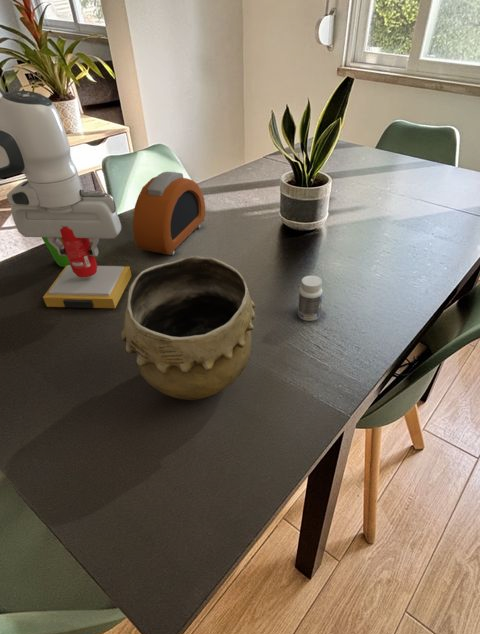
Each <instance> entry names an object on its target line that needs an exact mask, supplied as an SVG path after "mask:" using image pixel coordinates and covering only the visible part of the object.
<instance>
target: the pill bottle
mask: <svg viewBox="0 0 480 634" xmlns="http://www.w3.org/2000/svg"><path fill="white" fill-rule="evenodd" d="M322 286H323V281H322V279H321V277H319V276H316V275H306V276H304V277H303V278H301V284H300V287H299V290H298V306H297V315H298V317H299V318H300V319H301V320H303V321H306V322H312V321H316V320H318V319H319V318H320V317H321V313H322V302H323V292H324V291H323V287H322Z"/></svg>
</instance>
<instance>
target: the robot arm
mask: <svg viewBox="0 0 480 634" xmlns="http://www.w3.org/2000/svg"><path fill="white" fill-rule="evenodd" d="M18 174H23V175H24V176H25V177H26V180H24V181H21V182H20V183H19V184H17V185H16V186H14V187H13V188H12V189H11V190H10V191H9V192H8V193H7V194H6V199H7V201H8V203H9V204H10V205H11V207H10V213H11V216H12V219H13V222H14V225H15V227H16V229H17V231H18V233H19V234H20V235H21V236H23V237H25V238H42V237H47V239H48V242H49V243H50V244H51V245H53V246H54V247H55V248H56V249H57V251H58V254H59V255H60V256H67V254H66V251H65V248H64V246H63V244H62V243H61V242H60V241H59V240H58V238H62V235H61V232H60V229H62V228H63V227H61V226H68V228H69V229H71V230H73V234H74V236H75V237H76V238H89V241H90V243H92V245H90V247H89V248H88V249H87V250H88V253H89V256H94V257H98V255H99V248H98V246H99V242H100V239H107V240H108V239H111V240H112V239H113V240H114V239H116V238H118V236H119V234H121V231H122V224H121V220H120V217H119V215H118V212H117V211H116V208H117V207H116V203H115V202H116V201H115V199H114V197H113V196H112V195H111V194H109V193H107V192H105V190H92V189H91V190H89V189H83V185H82V183H81V178H80V175H79V172H78V169H77V167H76V165H75V164H74V162H73V160H72V157H71V145H70V142H69V138H68V135H67V132H66V130H65V126H64V124H63V121H62V118H61V116H60V114H59V111H58V109H57V108H56V106H55V104H54V103H53V102H52V101H51V99H50V98H48V97H47V96H45V95H43V94H41V93H39V92H35V91H31V90H10V91H7V92H5V91H3V90H2V88H0V179H2V178H9V177H12V176H15V175H18Z"/></svg>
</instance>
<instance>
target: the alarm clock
mask: <svg viewBox="0 0 480 634" xmlns="http://www.w3.org/2000/svg"><path fill="white" fill-rule="evenodd" d="M205 218H206V202H205V197H204V194H203V191H202V189H201V187H200V186H199V184H198V183H197V182H196V181H194V180H193V179H190V178H186V177H184V174H183V173H182V172H176V171H163V172H161V173H159V174H158V175H156V176H153V177H152V178H150V179H149V180H148V181H147V183H145V185H143V186H142V188H141V190H140V192H139V194H138V196H137V199H136V202H135V205H134V210H133V216H132V234H133V239H134V243H135V246H136V248H137V249H139V250H142V251H148V252H153V253H159V254H163V255H170V256H174V255H175V250H176V249H177V248H178V247H179V246H180V245H181V244H182V243H183V242H184V241H185V240H186V239H187V238H188V237H189V236H190V235H191V234H192V233H193V232H194V231H195V230H196V229H197V230H198V229H200V228H201V224H202V223H203V222H204V221H205Z"/></svg>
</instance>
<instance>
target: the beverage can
mask: <svg viewBox="0 0 480 634" xmlns="http://www.w3.org/2000/svg"><path fill="white" fill-rule="evenodd" d="M61 227H63V228H62V229H60V232H61V235H62V238H61V240H62V243H63V246H64V248H65V251H66V254H67V257H68V259H69V262H70V265H71V268H72V270H73V272H74V273H75V274H76V275H77V276H78V277H80V278H87V277H91V276H93V275H94V274H96V272H97V266H98V262H97V260H96V256H89V253H88V250H87V249H88V248H89V247H90V245H91V242H90V241H89V238H76V237H75V236H74V234H73V230H71V229H69V228H68V226H61Z"/></svg>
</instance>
